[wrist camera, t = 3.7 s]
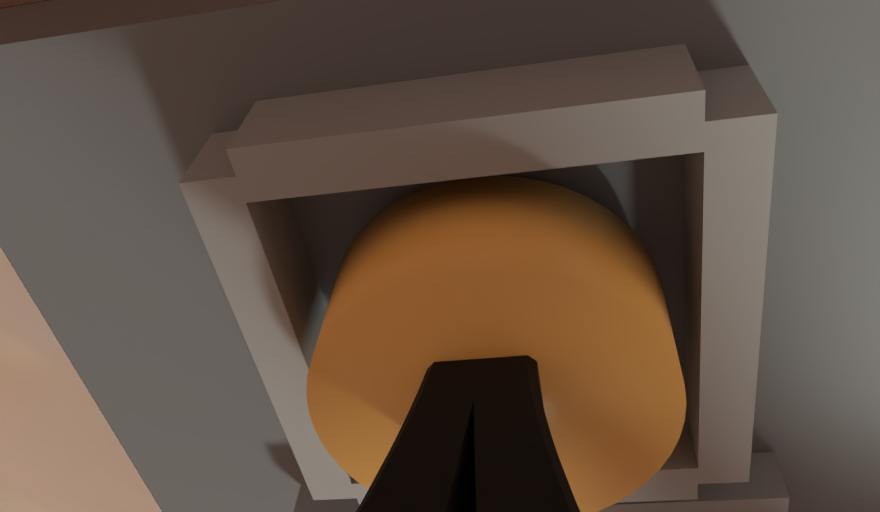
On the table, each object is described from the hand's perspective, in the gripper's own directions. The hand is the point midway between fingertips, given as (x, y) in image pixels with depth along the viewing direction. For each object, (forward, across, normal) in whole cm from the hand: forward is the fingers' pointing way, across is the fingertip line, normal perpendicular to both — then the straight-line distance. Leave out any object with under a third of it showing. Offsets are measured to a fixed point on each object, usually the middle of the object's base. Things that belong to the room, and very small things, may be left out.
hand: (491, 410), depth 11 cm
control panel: (+5, 0, +7) cm, 8 cm away
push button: (+2, 0, 0) cm, 2 cm away
